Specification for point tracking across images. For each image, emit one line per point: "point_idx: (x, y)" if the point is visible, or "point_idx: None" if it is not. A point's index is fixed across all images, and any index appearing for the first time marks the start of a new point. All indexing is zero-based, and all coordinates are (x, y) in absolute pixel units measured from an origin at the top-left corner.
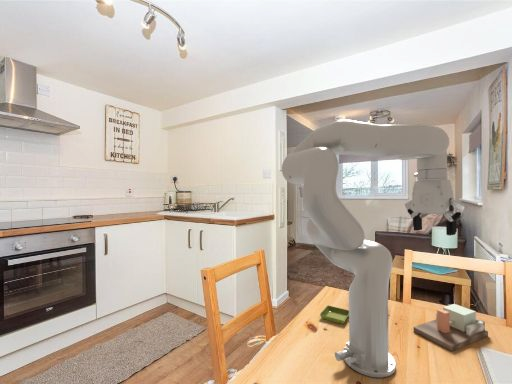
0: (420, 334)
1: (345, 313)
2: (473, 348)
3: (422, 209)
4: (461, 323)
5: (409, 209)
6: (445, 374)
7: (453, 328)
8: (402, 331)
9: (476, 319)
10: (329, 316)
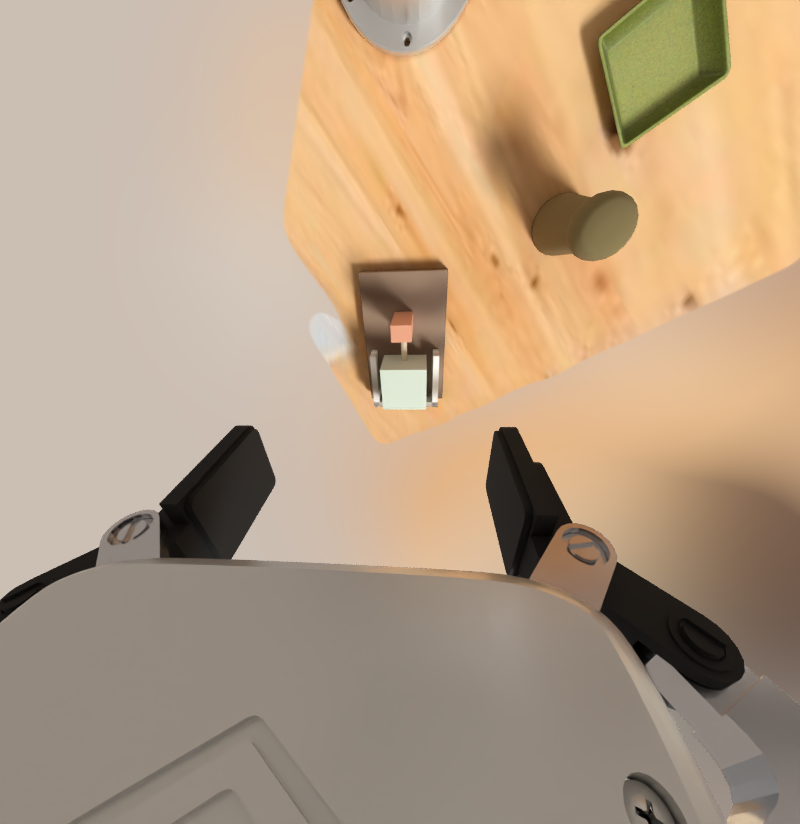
0: (429, 269)
1: (634, 128)
2: (354, 326)
3: (378, 633)
4: (387, 360)
5: (712, 674)
6: (306, 162)
7: None
8: (461, 240)
9: None
10: (676, 32)
